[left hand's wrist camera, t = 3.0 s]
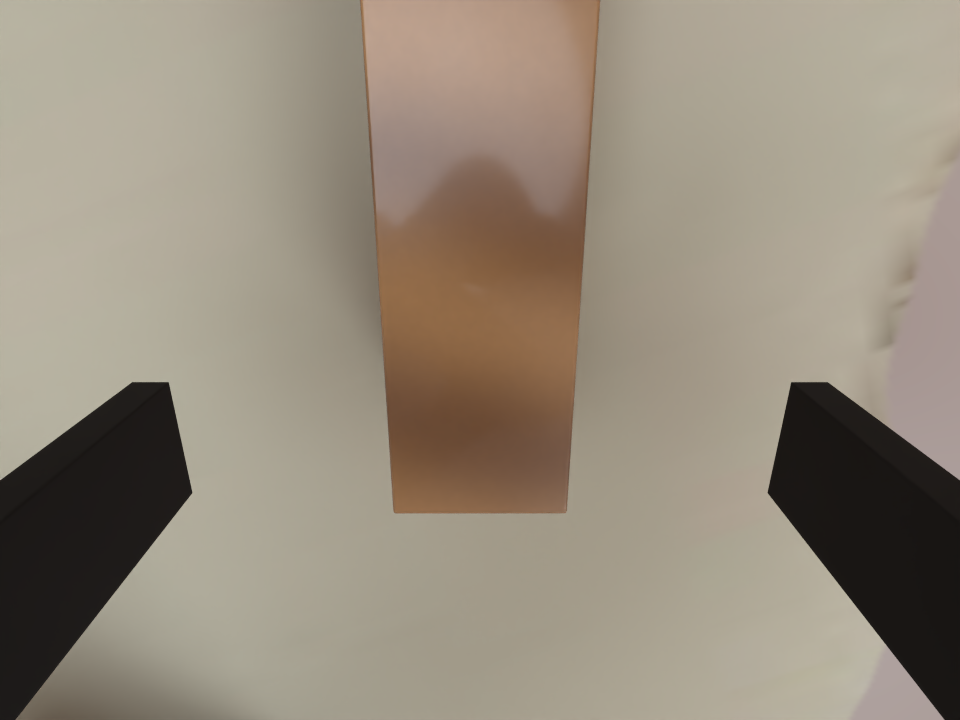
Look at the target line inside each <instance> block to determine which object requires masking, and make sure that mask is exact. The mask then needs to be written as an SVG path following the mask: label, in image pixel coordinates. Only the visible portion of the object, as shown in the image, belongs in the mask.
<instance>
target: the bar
mask: <svg viewBox="0 0 960 720" xmlns="http://www.w3.org/2000/svg"><path fill="white" fill-rule="evenodd" d="M360 5H361V20H362V36H363V51H364V66H365V81H366V97H367V112H368V127H369V143H370V158H371V173H372V189H373V204H374V219H375V235H376V250H377V265H378V280H379V296H380V311H381V326H382V342H383V357H384V372H385V388H386V403H387V418H388V434H389V449H390V464H391V479H392V495H393V510H394V513H566V511H567V499H568V483H569V468H570V453H571V438H572V422H573V407H574V392H575V377H576V361H577V346H578V331H579V316H580V300H581V285H582V270H583V254H584V239H585V224H586V209H587V193H588V178H589V163H590V148H591V132H592V117H593V102H594V86H595V71H596V56H597V41H598V25H599V10H600V0H360Z"/></svg>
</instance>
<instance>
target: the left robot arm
mask: <svg viewBox="0 0 960 720" xmlns="http://www.w3.org/2000/svg"><path fill="white" fill-rule="evenodd" d="M191 494H192V489H191V484H190V480H189V475H188V470H187V466H186V461H185V456H184V452H183V447H182V442H181V438H180V433H179V428H178V424H177V419H176V414H175V410H174V405H173V400H172V396H171V391H170V386H169V382H132V383H131V384H129V385H128V386H127V387H125V388H124V389H123V390H121V391H120V392H119V393H117V394H116V395H115V396H113V397H112V398H111V399H109V400H108V401H106V402H105V403H104V404H102V405H101V406H100V407H98V408H97V409H96V410H94V411H93V412H92V413H90V414H89V415H88V416H86V417H85V418H84V419H82V420H81V421H80V422H78V423H77V424H76V425H74V426H73V427H72V428H70V429H69V430H67V431H66V432H65V433H63V434H62V435H61V436H59V437H58V438H57V439H55V440H54V441H53V442H51V443H50V444H49V445H47V446H46V447H45V448H43V449H42V450H41V451H39V452H38V453H37V454H35V455H34V456H32V457H31V458H30V459H28V460H27V461H26V462H24V463H23V464H22V465H20V466H19V467H18V468H16V469H15V470H14V471H12V472H11V473H10V474H8V475H7V476H6V477H4V478H3V479H2V480H0V720H16V718H17V717H18V716H19V714H20V713H21V712H22V711H23V709H24V708H25V707H26V705H27V704H28V703H29V702H30V700H31V699H32V698H33V696H34V695H35V694H36V693H37V691H38V690H39V689H40V688H41V686H42V685H43V684H44V682H45V681H46V680H47V679H48V677H49V676H50V675H51V673H52V672H53V671H54V670H55V668H56V667H57V666H58V664H59V663H60V662H61V661H62V659H63V658H64V657H65V655H66V654H67V653H68V652H69V650H70V649H71V648H72V646H73V645H74V644H75V643H76V641H77V640H78V639H79V638H80V636H81V635H82V634H83V632H84V631H85V630H86V629H87V627H88V626H89V625H90V623H91V622H92V621H93V620H94V618H95V617H96V616H97V614H98V613H99V612H100V611H101V609H102V608H103V607H104V605H105V604H106V603H107V602H108V600H109V599H110V598H111V596H112V595H113V594H114V593H115V591H116V590H117V589H118V588H119V586H120V585H121V584H122V582H123V581H124V580H125V579H126V577H127V576H128V575H129V573H130V572H131V571H132V570H133V568H134V567H135V566H136V564H137V563H138V562H139V561H140V559H141V558H142V557H143V555H144V554H145V553H146V552H147V550H148V549H149V548H150V546H151V545H152V544H153V543H154V541H155V540H156V539H157V538H158V536H159V535H160V534H161V532H162V531H163V530H164V529H165V527H166V526H167V525H168V523H169V522H170V521H171V520H172V518H173V517H174V516H175V514H176V513H177V512H178V511H179V509H180V508H181V507H182V505H183V504H184V503H185V502H186V500H187V499H188V498H189V496H190V495H191ZM768 494H769V495H770V496H771V498H772V499H773V500H774V502H775V503H776V504H777V505H778V507H779V508H780V509H781V511H782V512H783V513H784V514H785V516H786V517H787V518H788V520H789V521H790V522H791V523H792V525H793V526H794V527H795V529H796V530H797V531H798V532H799V534H800V535H801V536H802V538H803V539H804V540H805V541H806V543H807V544H808V545H809V546H810V548H811V549H812V550H813V552H814V553H815V554H816V555H817V557H818V558H819V559H820V561H821V562H822V563H823V564H824V566H825V567H826V568H827V570H828V571H829V572H830V573H831V575H832V576H833V577H834V579H835V580H836V581H837V582H838V584H839V585H840V586H841V588H842V589H843V590H844V591H845V593H846V594H847V595H848V596H849V598H850V599H851V600H852V602H853V603H854V604H855V605H856V607H857V608H858V609H859V611H860V612H861V613H862V614H863V616H864V617H865V618H866V620H867V621H868V622H869V623H870V625H871V626H872V627H873V629H874V630H875V631H876V632H877V634H878V635H879V636H880V638H881V639H882V640H883V641H884V643H885V644H886V645H887V646H888V648H889V649H890V650H891V652H892V653H893V654H894V655H895V657H896V658H897V659H898V661H899V662H900V663H901V664H902V666H903V667H904V668H905V670H906V671H907V672H908V673H909V675H910V676H911V677H912V678H913V680H914V681H915V682H916V684H917V685H918V686H919V687H920V689H921V690H922V691H923V693H924V694H925V695H926V696H927V698H928V699H929V700H930V702H931V703H932V704H933V705H934V707H935V708H936V709H937V711H938V712H939V713H940V714H941V716H942V717H943V718H944V720H960V480H958V479H957V478H956V477H954V476H953V475H952V474H950V473H949V472H948V471H946V470H945V469H944V468H942V467H941V466H940V465H938V464H937V463H936V462H934V461H933V460H932V459H930V458H929V457H927V456H926V455H925V454H923V453H922V452H921V451H919V450H918V449H917V448H915V447H914V446H913V445H911V444H910V443H909V442H907V441H906V440H905V439H903V438H902V437H901V436H899V435H898V434H897V433H895V432H894V431H893V430H891V429H890V428H888V427H887V426H886V425H884V424H883V423H882V422H880V421H879V420H878V419H876V418H875V417H874V416H872V415H871V414H870V413H868V412H867V411H866V410H864V409H863V408H862V407H860V406H859V405H858V404H856V403H855V402H854V401H852V400H851V399H849V398H848V397H847V396H845V395H844V394H843V393H841V392H840V391H839V390H837V389H836V388H835V387H833V386H832V385H831V384H829V383H828V382H791V386H790V391H789V396H788V400H787V405H786V410H785V414H784V419H783V424H782V428H781V433H780V438H779V442H778V447H777V452H776V456H775V461H774V466H773V470H772V475H771V480H770V484H769V489H768Z"/></svg>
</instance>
